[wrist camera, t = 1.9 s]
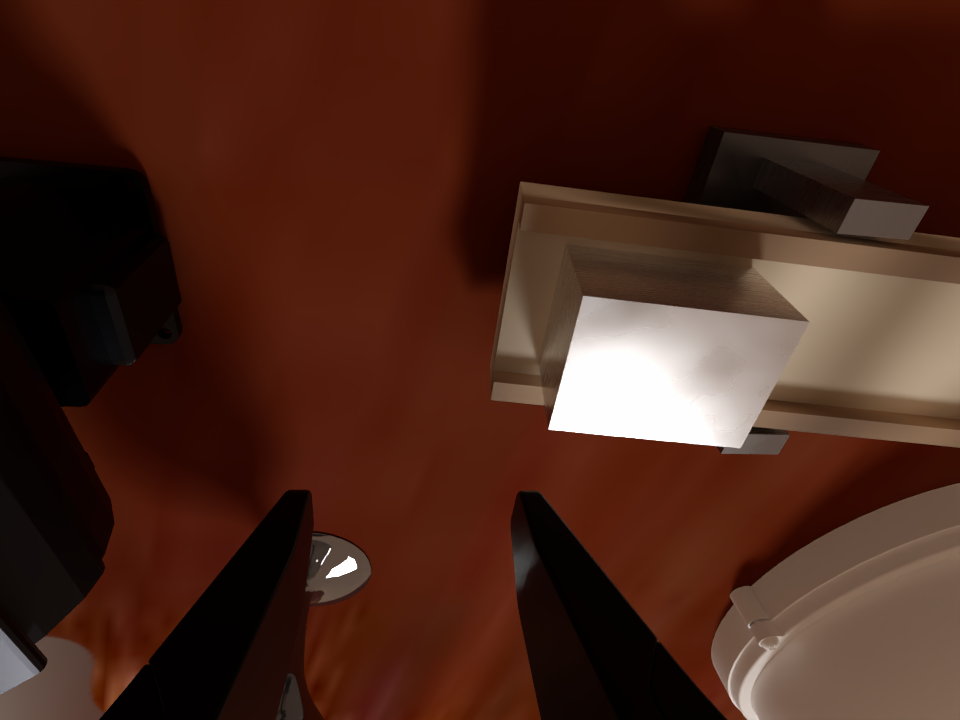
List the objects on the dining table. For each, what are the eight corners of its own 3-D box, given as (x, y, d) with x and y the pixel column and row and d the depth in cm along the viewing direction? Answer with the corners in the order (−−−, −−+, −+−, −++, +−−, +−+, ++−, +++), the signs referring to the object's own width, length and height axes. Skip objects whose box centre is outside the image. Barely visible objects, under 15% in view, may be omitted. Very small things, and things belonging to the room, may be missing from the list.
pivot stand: (623, 379, 24) (671, 465, 20) (710, 126, 18) (808, 167, 14) (740, 383, 25) (811, 466, 21) (860, 144, 19) (998, 189, 15)
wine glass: (400, 546, 30) (392, 933, 17) (348, 619, 33) (311, 981, 21) (258, 512, 27) (128, 945, 15) (218, 595, 30) (87, 998, 18)
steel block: (538, 363, 19) (548, 429, 16) (565, 244, 16) (583, 295, 13) (701, 380, 19) (740, 448, 16) (752, 266, 16) (809, 321, 14)
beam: (489, 353, 21) (490, 400, 19) (518, 174, 17) (524, 203, 15) (1037, 411, 23) (1107, 462, 20) (1179, 259, 19) (1289, 299, 16)
